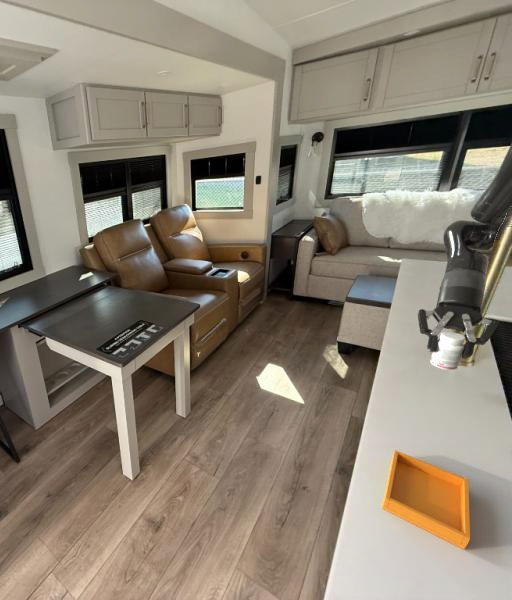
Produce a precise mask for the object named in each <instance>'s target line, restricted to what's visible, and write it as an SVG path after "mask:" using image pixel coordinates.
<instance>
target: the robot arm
mask: <svg viewBox="0 0 512 600" xmlns="http://www.w3.org/2000/svg"><path fill="white" fill-rule="evenodd" d="M510 206H512V143H511V144H510V145H509V148H508V149H507V152H506V154H505V156H504V159H503V160H502V162H501V164H500V167H499V168H498V170H497V172H496V174H495V176H494V178H493V179H492V180H491V182H490V183H489V184H488V186H487V188H486V189H485V190H484V191H483V192H482V195H480V197H479V198H478V200H477V201H476V202H475V204H474V205H473V206H472V208H471V210H470V216H471V218H472V219H473V220H467V219H466V220H464V219H463V220H461V219H460V220H456V221H453V222H452V223H450V224H449V225H448V226H447V227H446V228H445V230H444V233H443V244H444V249H445V253H446V259H447V262H446V267H445V270H444V271H445V272H444V274H443V275H444V276H443V278H442V281H441V284H440V286H439V292H438V297H437V301H436V305H435V307H434V309H433V310H426V309H424V308H420V309H419V310H418V312H417V319H418V326H419V333H420V334H422V335H425V336H427V337H428V340H427V345H426V348H427V350H429V352H430V353H432V354H433V353H434V352H435V349H436V345H437V340H438V339H439V336H438V335H439V334H441V333H442V330H443V329H445V330H446V329H447V330H455V331H459V332H461V335H463V336H464V337H465V341H464V343H463V344H464V346H465V347H464V350H463V353H462V356H461V359H462V360H467V359H469V358H471V357H472V356H473V355H474V350H475V346H477V345H480V346H484V345H486V343H487V342H488V341H489V340H490V339H491V337H492V336H493V334H494V332H495V331H496V329H497V328H498V327H499V325H500V321H499V320H498V319H493V320H492V319H488V318H485V317H484V316H483V314H482V308H483V302H484V296H485V293H486V292H485V291H486V287H487V286H486V285H487V280H486V279H487V273H488V267H489V262H490V261H488V259H489V257H488V256H487V254H485V253H482V252H483V251H484V252H487V251H490V250H493V249H492V247H493V243H494V240H495V237H496V234H497V232H498V234H499V236H498V235H497V236H498V237H496V240H497V242H498V240H500V237H501V235H502V234H503V233H504V230H505V229H506V227H507V228H508V226H509V224H510V222H511V220H512V209H511V208H512V207H510ZM509 208H510V209H509ZM506 213H507V215H506ZM505 216H506V218H505ZM504 218H505V220H504ZM503 221H504V222H503ZM502 223H503V224H502ZM501 224H502V225H501ZM500 225H501V227H500ZM507 225H508V226H507ZM499 227H500V229H499ZM498 229H499V231H498ZM506 230H507V229H506ZM497 238H498V239H497ZM496 244H497V243H496ZM480 251H482V252H480ZM486 264H487V265H486ZM430 317H433V318H434V319H435V321H436V322H437V324H436V326H435V327H434V328H433V329H430V328H429V324H428V320H429V319H430ZM478 324H481V325H482V326H481V327H482V329H484V331H483V332H482V334H481V336H480V337H476V335H475V329H474V326H476V325H478Z"/></svg>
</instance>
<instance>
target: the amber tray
mask: <svg viewBox="0 0 512 600" xmlns="http://www.w3.org/2000/svg"><path fill="white" fill-rule="evenodd" d="M381 509H383V510H385V511H386V512H389V513H390V514H392V515H394V516H397V517H398V518H400V519H403V521H404V520H405V521H406V522H408V523H410V524H413V525H414V526H416V527H418V528H420V529H422V530H424V531H425V532H428V533H430V534H432V535H434V536H436V537H438V538H440V539H441V540H444V541H446V542H448V543H450V544H452V545H454V546H456V547H457V548H460V549H462V550H463V551H464V550H466V548H467V546H468V544H469V543H470V541H471V517H470V514H471V513H470V481H469V478H466V477H463V476H461V475H458V474H456V473H454V472H451V471H448V470H447V469H443V468H441V467H438V466H436V465H433V464H432V463H428V462H426V461H423V460H421V459H418V458H416V457H413V456H411V455H408V454H406V453H403V452H401V451H398V450H394V452H393V453H392V457H391V460H390V465H389V470H388V475H387V481H386V485H385V489H384V495H383V500H382V504H381Z"/></svg>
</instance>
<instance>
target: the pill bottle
mask: <svg viewBox="0 0 512 600" xmlns="http://www.w3.org/2000/svg"><path fill="white" fill-rule="evenodd" d="M465 342H466V341H465V337H464V336H463V335H462V333H458V332H454V331H443V332H442V331H441V332H440V336H439V338H438V340H437V345H436V349H435V352H434V353H433V352H432V354H431V357H430V360H429V361H430V364H431V365H432V366H434V367H436V368H438V369H441V370H445V371H446V370H447V371H455V370H457V369H458V367H459V364H460V361H461V359H462V353H463V350H464V347H465V346H464V344H465Z"/></svg>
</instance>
